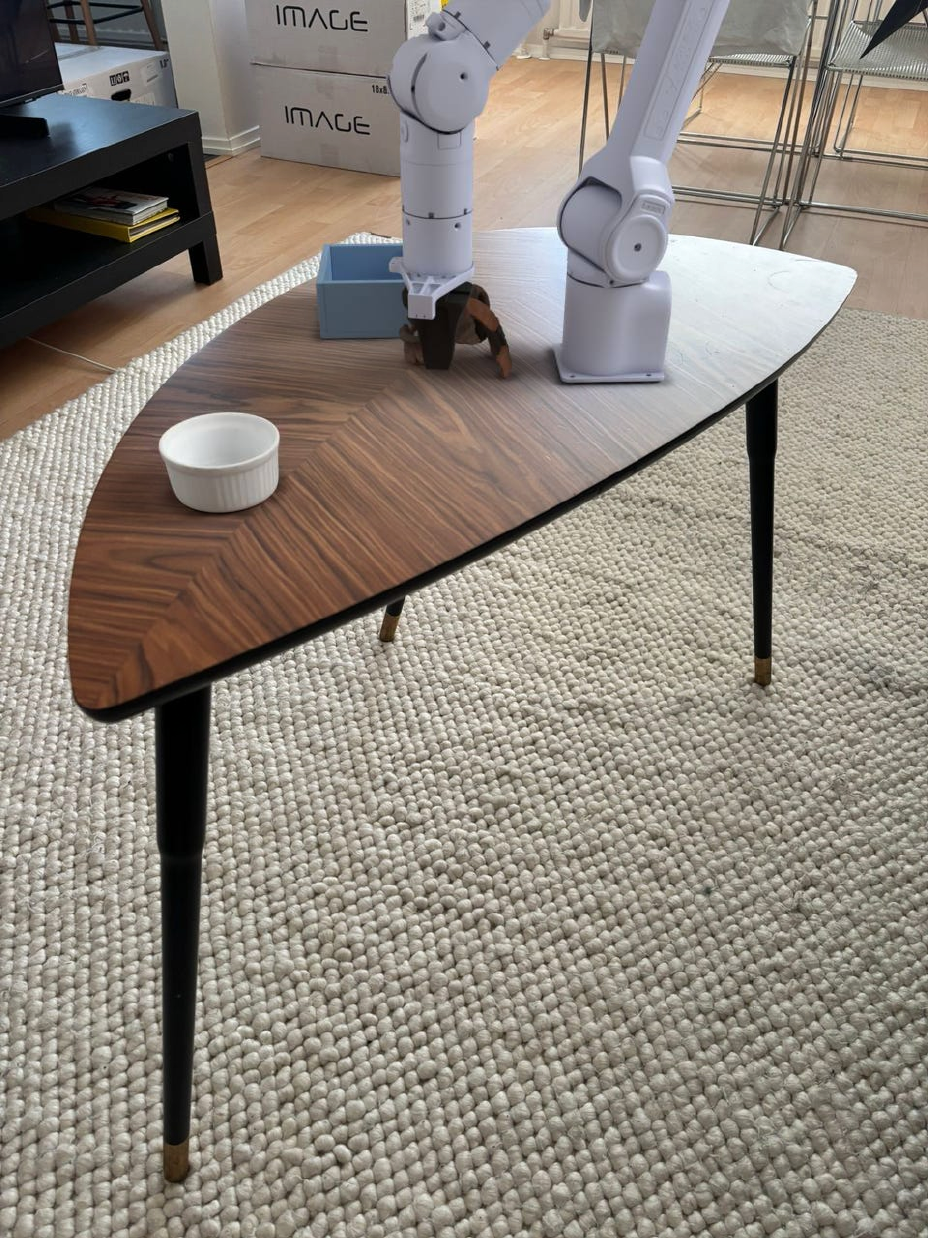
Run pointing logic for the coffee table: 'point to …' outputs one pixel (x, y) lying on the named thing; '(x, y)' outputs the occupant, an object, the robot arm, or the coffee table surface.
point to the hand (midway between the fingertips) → (438, 367)
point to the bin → (360, 291)
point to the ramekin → (222, 460)
